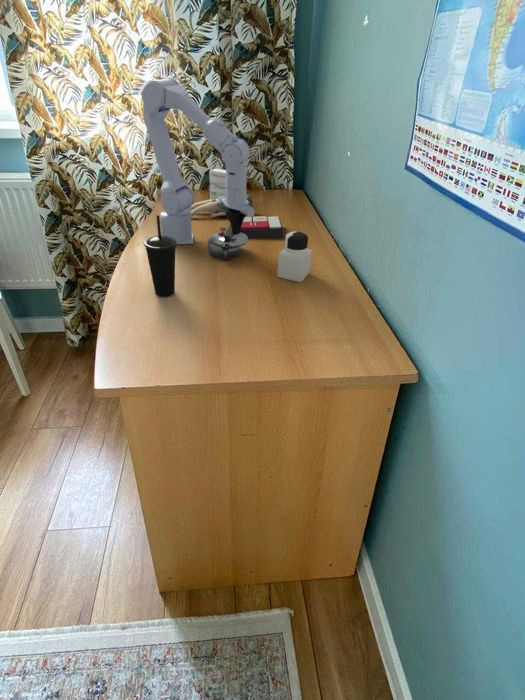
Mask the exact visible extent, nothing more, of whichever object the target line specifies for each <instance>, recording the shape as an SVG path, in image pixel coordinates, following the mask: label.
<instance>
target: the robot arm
mask: <svg viewBox="0 0 525 700" xmlns="http://www.w3.org/2000/svg"><path fill="white" fill-rule="evenodd" d="M140 95H141V99H142V103H143V105H142V118H143V121H144V125H145V127H146V132H147V134H148V136H149V140H150V143H151V147H152V149H153V152H154V156H155V158H156V159H155V160H156V162H157V165H158V169H159V172H160V176H161V179H162V185H161V188H160V197H161V207H162V209H163V210H164V211H161V212H160V228H161V235H164V236H168V237H172V238H174V239H175V240H176V242H177V244H176V245H193V244H194V233H192V232H193V231H192V217H191V205H193V204H194V203H195V195H194V193H193V190H192V189H191V188H190V185H189V182H188V181H186V180H185V179H184V178H183V177H182V174H181V172H180V168H179V165H178V164H179V163H178V161H177V158H176V155H175V151H174V149H173V148H174V147H173V144H172V141H171V137H170V134H169V130H168V127H167V123H166V120H165V119H166V118H167V116H168V114H169V113H170V110H171V109H172V110H173V109H174V110H179V111H181V113H183V114H184V115H185V116H186V117H188V118H189V119H190V120H191V121H192V122H193V123H195V125H196V126H198V127H199V128H200V129H201V130H202V136H203V138H204V139H205V140H206V141H207V142H208V143H209V144H211V145H212V147H214V149H216V150H217V151H218V152H219V153H220V155H221V160H222V161H223V163H224V164H225V170H226V197H225V196H223V197H219V204H224V205H225V206H226V207H228V208H229V210H226V211H225V213H226V215H227V216H226V217H227V219H228V221H229V223H230V224H231V228H232V233H233V234H234V235H236V234H240V231H241V226H242V223H243V220H244V218H245V217H251V218H253V217H255V208H253V207H252V206H251V207H250V206H249V205H248V204H249V201H247V200H246V195H247V163H248V162H247V160H248V159H249V158H250V155H251V149H250V146H249V144H248V143H247V141H246V140H245V139H242V138H238V136H237V135H236V134H233V133H232V132H231V131H230V130H229V129H228V128H227V127H226V126H225V122H224V121H223V120H218V119H217V118H215V119H214V118H213V119H212V118H210V117H209V115H208V114H207V113H205V111H204V110H203V109H202V108H201V107H200V106H199V105H198V104H197V102H195V100H193V98H192V97H191V96H190V95H189V94H188V93H187V91H186V89H185V87H184V86H183V85H181V84H179V82H178V81H177V80H176V79H174V78H172V77H168V78H164V79H162V78H161V79H156V80H155V79H150V80H147V81H146V83H145V84H144V85H143V87H142V90H141V91H140ZM230 224H229V225H230Z"/></svg>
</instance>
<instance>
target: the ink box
mask: <svg viewBox="0 0 525 700" xmlns="http://www.w3.org/2000/svg"><path fill="white" fill-rule="evenodd" d="M208 172H209V197H210V198H209V200H214V199H219V197H223V196H225V197H226V169H220V168H214V169H211V170H209V171H208Z"/></svg>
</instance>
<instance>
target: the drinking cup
mask: <svg viewBox="0 0 525 700" xmlns="http://www.w3.org/2000/svg"><path fill="white" fill-rule="evenodd" d="M155 216H156V225H157V226H156V227H157V235H153V236H151V237H148V238H146V239H145V240H144V242H143V246H144V247H145V250H146V255H147V261H148V264H149V270H150V273H151V279H152V283H153V284H152V285H153V289H154V293H155V295H156V296H158V297H160V298H168V297H167V296H169V297H171V296H173V295H174V294H175V288H176V287H175V286H176V285H175V283H176V246H177V245H178V244H177V242H176V240H175V239H174V238H172V237H168V236H164V235H161V216H160V215H158V214H157V215H155Z"/></svg>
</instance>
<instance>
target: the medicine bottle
mask: <svg viewBox="0 0 525 700" xmlns="http://www.w3.org/2000/svg"><path fill="white" fill-rule="evenodd" d="M308 244H309V236H308V235H307V234H306V233H304V232H302V231H290V232H288V233H286V234H285V240H284V248H283V249H282V250H281V251H280V252H278V258H277V259H278V260H277V261H278V262H277V277H278V278H281V279H285V280H288V281H292V282H295V283H296V282H297V283H302V282H303V281H304V279H305V278H306V277H307V276H308V275H309V274H310V271H311V262H312V254H313V253H312V252H313V250H312V249H309V248H308Z"/></svg>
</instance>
